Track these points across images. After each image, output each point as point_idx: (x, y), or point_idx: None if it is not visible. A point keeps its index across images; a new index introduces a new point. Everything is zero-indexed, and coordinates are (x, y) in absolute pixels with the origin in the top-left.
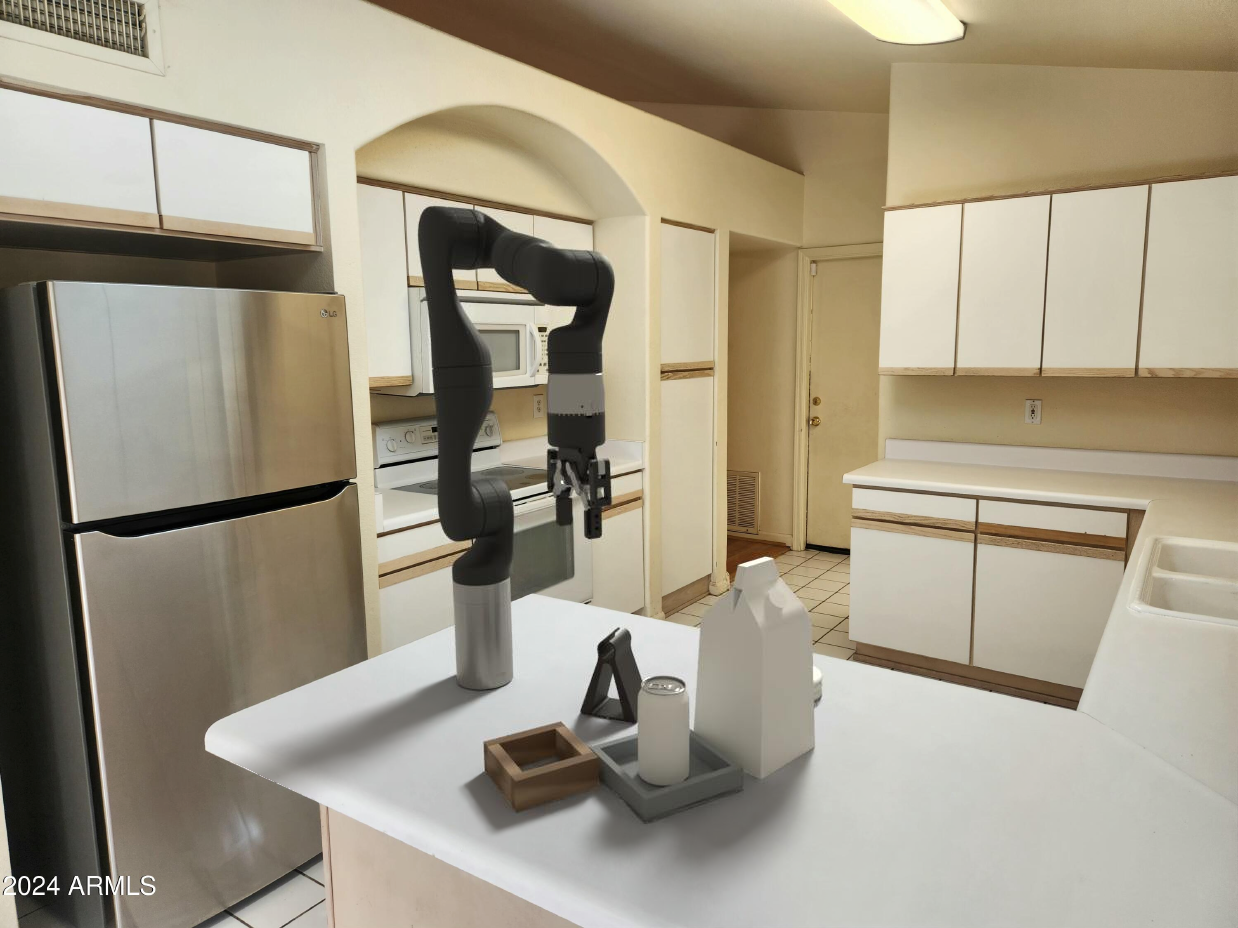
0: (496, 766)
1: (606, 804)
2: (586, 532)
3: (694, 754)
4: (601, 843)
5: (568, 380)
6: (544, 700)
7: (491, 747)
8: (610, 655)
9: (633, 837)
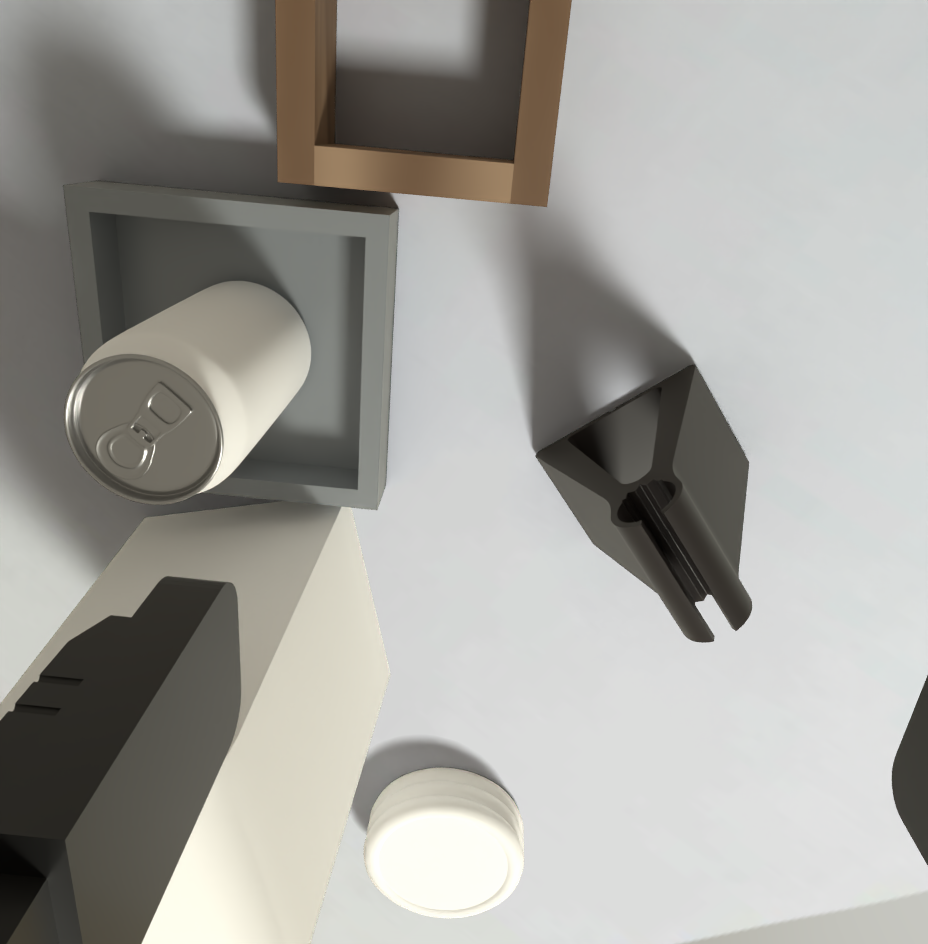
0: None
1: (217, 145)
2: (145, 607)
3: (288, 463)
4: (66, 29)
5: None
6: (850, 320)
7: None
8: (661, 515)
9: (57, 119)
